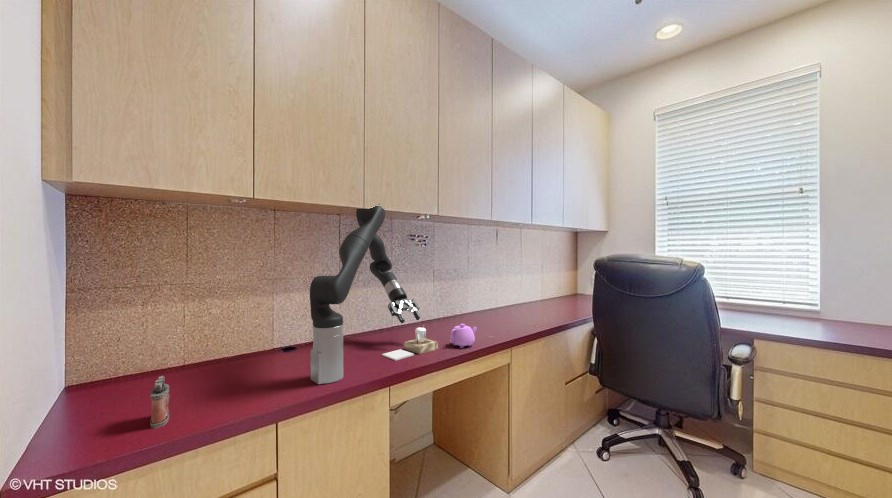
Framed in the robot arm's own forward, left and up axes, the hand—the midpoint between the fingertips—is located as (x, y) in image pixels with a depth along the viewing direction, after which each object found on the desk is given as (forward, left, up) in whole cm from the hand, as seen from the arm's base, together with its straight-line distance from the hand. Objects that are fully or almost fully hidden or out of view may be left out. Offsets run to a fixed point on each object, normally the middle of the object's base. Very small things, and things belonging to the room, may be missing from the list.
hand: (411, 320), depth 143 cm
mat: (-12, -6, -11) cm, 17 cm away
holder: (0, -6, -11) cm, 13 cm away
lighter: (-83, -5, -11) cm, 84 cm away
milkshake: (0, -6, -11) cm, 13 cm away
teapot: (+17, -15, -11) cm, 26 cm away
